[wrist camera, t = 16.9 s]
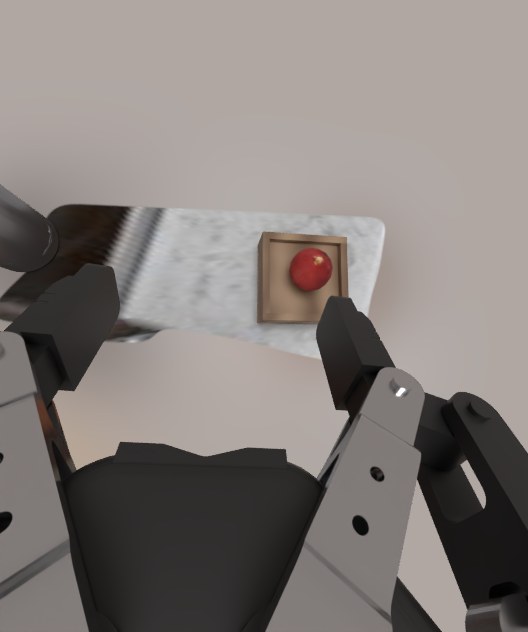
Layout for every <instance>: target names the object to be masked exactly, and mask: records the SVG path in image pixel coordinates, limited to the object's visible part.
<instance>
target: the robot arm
mask: <svg viewBox="0 0 528 632" xmlns="http://www.w3.org/2000/svg"><path fill="white" fill-rule="evenodd" d="M58 245H59V238H58V233H57V231H56V228H55V227H54V225H53V224H52V223H51V222H50V221H49V220H48V219H47V218H45V217H44V216H43V215H41V214H40V213H39V212H37V211H35V210H34V209H33V208H32V207H30V206H29V205H28V204H26V203H25V202H24V201H22V200H21V199H19V198H18V197H17V196H15V195H14V194H13V193H11V192H10V191H9V190H7V189H6V188H4V187H3V186H2V185H0V267H3V268H6V269H9V270H12V271H16V272H30V271H34V270H37V269H39V268H42V267H43V266H45V265H46V264H48V263H49V262H50V261H51V260H52V259H53V257H54V256H55V254H56V252H57V249H58ZM119 310H120V302H119V296H118V290H117V285H116V279H115V273H114V270H113V268H112V267H110V266H103V265H95V264H85V265H84V266H83V267H82V268H81V269H80V270H79V271H78V272H77V273H76V274H75V275H74V276H67V277H65V278H63V279H61V280H59V281H57V282H55V283H53V284H52V285H51V286H50V287H49V288H48V289H47V290H46V291H45V292H44V295H43V294H42V295H41V296H40V297H39V298H37V299H36V302H35V303H34V302H33V303H32V304H31V305H30V306H29V307H28V308H27V309H26V310H25V311H24V312H23V313H22V314H21V315H20V316H19V317H18V318H17V319H16V320H15V321H14V322H13V323H11V325H9V326H8V327H7V328H6V329H5V330H4V331H0V632H442V631H441V630H440V629H439V628H438V626H437V625H436V624H435V623H434V621H433V620H432V619H431V618H430V616H429V615H428V614H427V613H426V611H425V610H424V609H423V608H422V607H421V605H420V604H419V603H418V602H417V600H416V599H415V598H414V597H413V595H412V594H411V593H410V592H409V590H408V589H407V588H406V587H405V585H404V584H403V583H402V582H401V581H400V579H399V578H398V577H397V573H398V568H399V563H400V558H401V553H402V549H403V543H404V538H405V534H406V529H407V524H408V519H409V514H410V509H411V504H412V499H413V495H414V490H415V485H416V480H418V482H419V485H420V488H421V490H422V493H423V495H424V498H425V501H426V503H427V506H428V508H429V511H430V514H431V516H432V519H433V522H434V524H435V527H436V529H437V532H438V534H439V537H440V539H441V542H442V545H443V547H444V550H445V553H446V555H447V558H448V560H449V563H450V566H451V568H452V571H453V573H454V576H455V579H456V581H457V584H458V586H459V589H460V591H461V594H462V597H463V599H464V602H465V604H466V607H467V610H468V611H467V614H466V620H465V627H466V632H528V453H527V452H526V450H525V449H524V448H523V446H522V445H521V444H520V442H519V441H518V439H517V438H516V437H515V435H514V434H513V433H512V431H511V430H510V428H509V427H508V426H507V424H506V423H505V421H504V420H503V419H502V417H501V416H500V415H499V413H498V412H497V411H496V410H495V409H494V408H493V407H492V406H491V405H490V404H488V403H487V402H486V401H484V400H483V399H481V398H479V397H478V396H475V395H473V394H470V393H467V392H458V393H456V394H454V395H453V396H452V397H451V398H450V399H449V400H445V399H442V398H439V397H436V396H434V395H431V394H428V393H425V392H424V390H423V388H422V387H421V385H420V384H419V382H418V381H417V380H416V379H415V378H414V377H412V376H411V375H410V374H408V373H406V372H405V371H403V370H400V369H397V368H396V367H395V365H394V363H393V362H392V360H391V358H390V356H389V354H388V352H387V350H386V349H385V347H384V345H383V343H382V341H380V337H379V335H378V334H377V332H376V330H375V328H374V326H373V324H372V323H371V321H370V320H369V319H368V318H367V317H366V316H365V315H364V314H363V313H362V312H359V311H357V309H356V307H355V305H354V303H353V301H352V299H351V298H348V297H340V296H330V297H329V298H328V300H327V303H326V305H325V308H324V310H323V313H322V316H321V318H320V321H319V323H318V326H317V331H316V339H317V343H318V347H319V351H320V354H321V358H322V361H323V365H324V369H325V372H326V376H327V379H328V383H329V386H330V391H331V394H332V398H333V402H334V405H335V409H336V410H346V411H348V413H349V416H350V417H349V418H348V420H347V422H346V423H345V425H344V427H343V429H342V431H341V434H340V435H339V437H338V439H337V441H336V443H335V445H334V447H333V449H332V451H331V453H330V455H329V457H328V459H327V461H326V463H325V465H324V466H323V468H322V470H321V472H320V473H319V475H318V477H317V478H315V477H314V476H312V475H311V474H310V473H308V472H307V471H305V470H304V469H302V468H301V467H299V466H296V465H294V464H292V463H289V462H287V457H286V450H285V449H265V448H244V449H239V450H235V451H230V452H226V453H221V454H217V455H212V456H208V457H205V456H200V455H197V454H193V453H190V452H187V451H184V450H181V449H178V448H175V447H172V446H169V445H165V444H155V443H133V442H120V444H119V446H118V449H117V452H116V454H115V455H114V456H109V457H106V458H103V459H100V460H97V461H95V462H92V463H90V464H88V465H86V466H84V467H82V468H80V469H78V470H76V467H75V465H74V462H73V460H72V458H71V455H70V452H69V449H68V446H67V442H66V439H65V436H64V433H63V430H62V426H61V423H60V419H59V416H58V413H57V410H56V407H55V404H54V401H53V398H54V396H55V395H56V393H57V391H58V390H65V391H75V389H76V387H77V386H78V384H79V382H80V381H81V379H82V377H83V376H84V374H85V372H86V371H87V369H88V367H89V365H90V364H91V362H92V360H93V359H94V357H95V355H96V354H97V352H98V350H99V348H100V347H101V345H102V343H103V342H104V340H105V338H106V337H107V335H108V333H109V332H110V330H111V328H112V327H113V325H114V323H115V321H116V320H117V318H118V315H119ZM466 460H468V462H469V464H470V466H471V467H472V469H473V471H474V473H475V475H476V477H477V478H478V480H479V482H480V484H481V486H482V487H483V490H484V492H485V496H486V505H485V508H484V509H483V508H482V506H481V504H480V502H479V500H478V498H477V496H476V494H475V492H474V490H473V488H472V486H471V484H470V483H469V481H468V479H467V477H466V475H465V473H464V471H463V469H462V467H461V465H460V464H462V463H463V462H464V461H466Z"/></svg>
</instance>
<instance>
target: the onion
mask: <svg viewBox="0 0 528 632" xmlns="http://www.w3.org/2000/svg"><path fill="white" fill-rule="evenodd" d="M332 270H333V266H332V262H331V259H330V258H329V256H328V255H327V254H326V252H323V251H321V250H320V249H315V248H307V249H303V250H302V251H300V252H299V253H297V254H296V255H295V256H294V258H293V259H292V261H291V264H290V269H289V273H290V277H291V279H292V281H293V282H294V283H295V285H297V286H298V287H299V288H301V289H303V290H307V291H313V290H318V289H320V288H322V287H323V286H324V285H326V283H327V282H328V281H329V279H330V278H331V275H332Z"/></svg>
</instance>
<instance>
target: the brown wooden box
mask: <svg viewBox="0 0 528 632" xmlns="http://www.w3.org/2000/svg"><path fill="white" fill-rule="evenodd" d="M307 248H315V249H320V250H321V251H323V252H326V254H327V255H328V256H329V258H330V259H331V262H332V266H333V270H332V275H331V278H330V279H329V281H328V282H327V283H326V285H324V286H323V287H322V288H320V289H318V290H313V291H307V290H303V289H301V288H299V287H298V286H297V285H295V283H294V282H293V281H292V279H291V277H290V273H289V269H290V264H291V261H292V259H293V258H294V256H295V255H296V254H297V253H299V252H300V251H302V250H303V249H307ZM330 296H340V297H348V267H347V237H335V236H320V235H305V234H290V233H275V232H263V233H262V236H261V239H260V241H259V244H258V316H257V323H281V324H318V323H319V321H320V318H321V316H322V313H323V310H324V308H325V305H326V303H327V300H328V298H329V297H330Z"/></svg>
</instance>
